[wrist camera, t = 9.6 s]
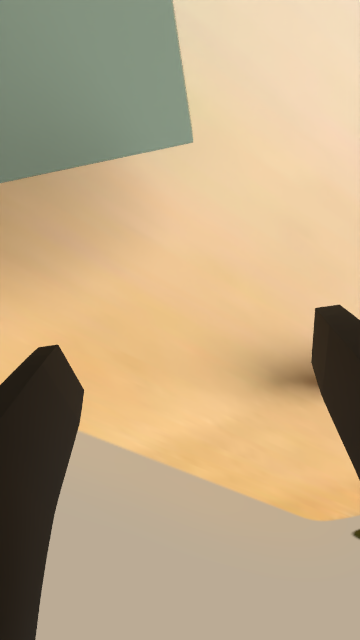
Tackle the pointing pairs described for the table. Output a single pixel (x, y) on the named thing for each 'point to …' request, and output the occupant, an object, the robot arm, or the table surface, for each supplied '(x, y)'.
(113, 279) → the table surface
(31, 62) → the board
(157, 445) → the table surface
